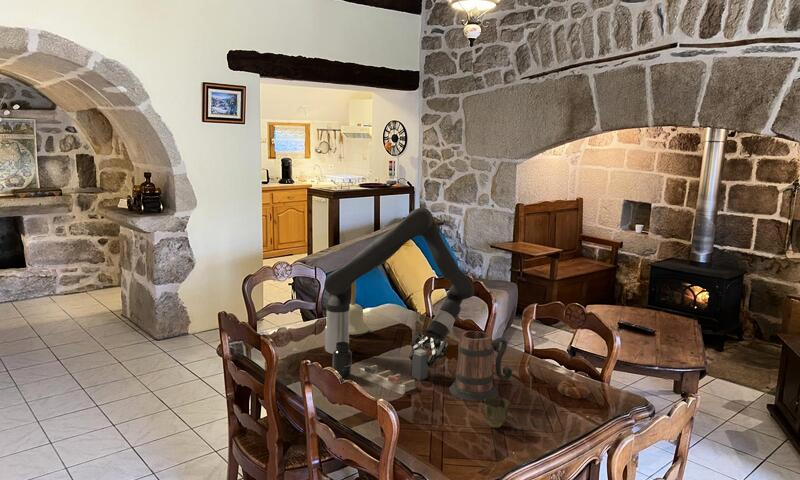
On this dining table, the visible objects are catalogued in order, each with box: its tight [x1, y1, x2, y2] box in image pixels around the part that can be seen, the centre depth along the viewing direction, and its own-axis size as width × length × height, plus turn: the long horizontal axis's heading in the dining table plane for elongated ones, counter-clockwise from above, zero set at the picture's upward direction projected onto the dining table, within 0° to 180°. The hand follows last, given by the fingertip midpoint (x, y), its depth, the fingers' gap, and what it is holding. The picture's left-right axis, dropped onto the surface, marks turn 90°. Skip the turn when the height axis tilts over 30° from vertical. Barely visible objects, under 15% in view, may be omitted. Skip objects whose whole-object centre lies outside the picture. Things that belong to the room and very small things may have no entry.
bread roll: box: [556, 378, 592, 399], centre depth 204 cm, size 12×11×4 cm
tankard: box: [448, 330, 513, 402], centre depth 203 cm, size 24×17×20 cm
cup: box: [483, 396, 510, 429], centre depth 176 cm, size 8×7×8 cm
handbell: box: [349, 280, 370, 335], centre depth 264 cm, size 15×15×25 cm
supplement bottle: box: [332, 342, 353, 379], centre depth 213 cm, size 7×7×12 cm
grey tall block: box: [411, 349, 429, 381], centre depth 213 cm, size 4×4×10 cm
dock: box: [358, 364, 416, 395], centre depth 208 cm, size 22×7×5 cm, turn 45°
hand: (419, 362), depth 213 cm, fingers open, 8 cm apart
